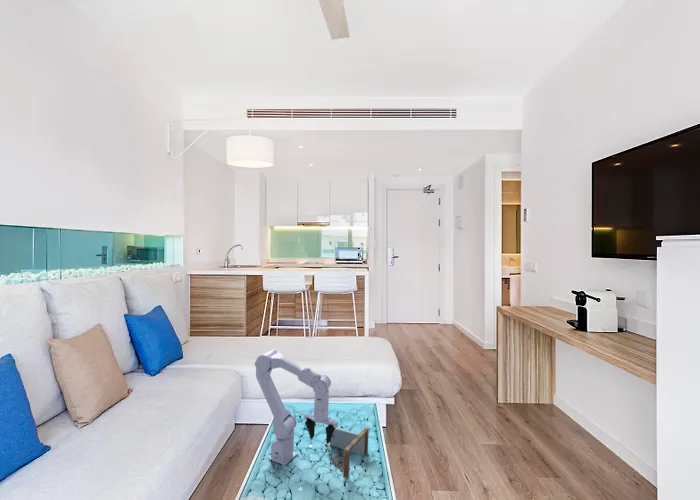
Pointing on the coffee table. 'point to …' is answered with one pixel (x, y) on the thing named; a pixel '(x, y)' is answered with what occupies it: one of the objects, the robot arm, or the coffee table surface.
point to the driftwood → (337, 459)
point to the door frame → (350, 447)
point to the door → (347, 440)
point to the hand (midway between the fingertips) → (320, 440)
